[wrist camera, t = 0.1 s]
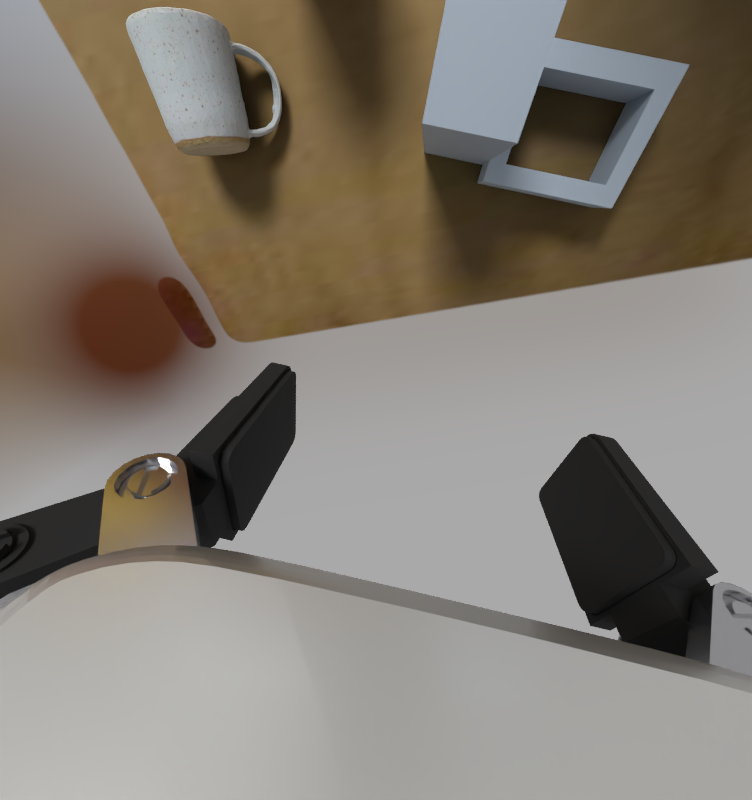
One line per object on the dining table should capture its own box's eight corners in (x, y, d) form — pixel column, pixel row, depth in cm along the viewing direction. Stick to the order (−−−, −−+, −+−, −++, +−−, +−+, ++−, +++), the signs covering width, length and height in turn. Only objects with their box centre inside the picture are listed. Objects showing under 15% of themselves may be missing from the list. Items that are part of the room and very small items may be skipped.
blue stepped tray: (447, 40, 25) (464, -93, 14) (655, 82, 25) (850, -18, 13) (420, 171, 30) (416, 154, 19) (591, 207, 30) (692, 212, 19)
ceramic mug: (206, 162, 33) (155, 153, 26) (170, 53, 28) (98, 10, 22) (295, 148, 31) (264, 135, 25) (273, 30, 26) (227, -23, 20)
